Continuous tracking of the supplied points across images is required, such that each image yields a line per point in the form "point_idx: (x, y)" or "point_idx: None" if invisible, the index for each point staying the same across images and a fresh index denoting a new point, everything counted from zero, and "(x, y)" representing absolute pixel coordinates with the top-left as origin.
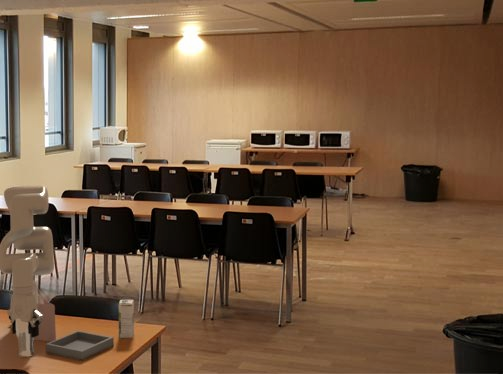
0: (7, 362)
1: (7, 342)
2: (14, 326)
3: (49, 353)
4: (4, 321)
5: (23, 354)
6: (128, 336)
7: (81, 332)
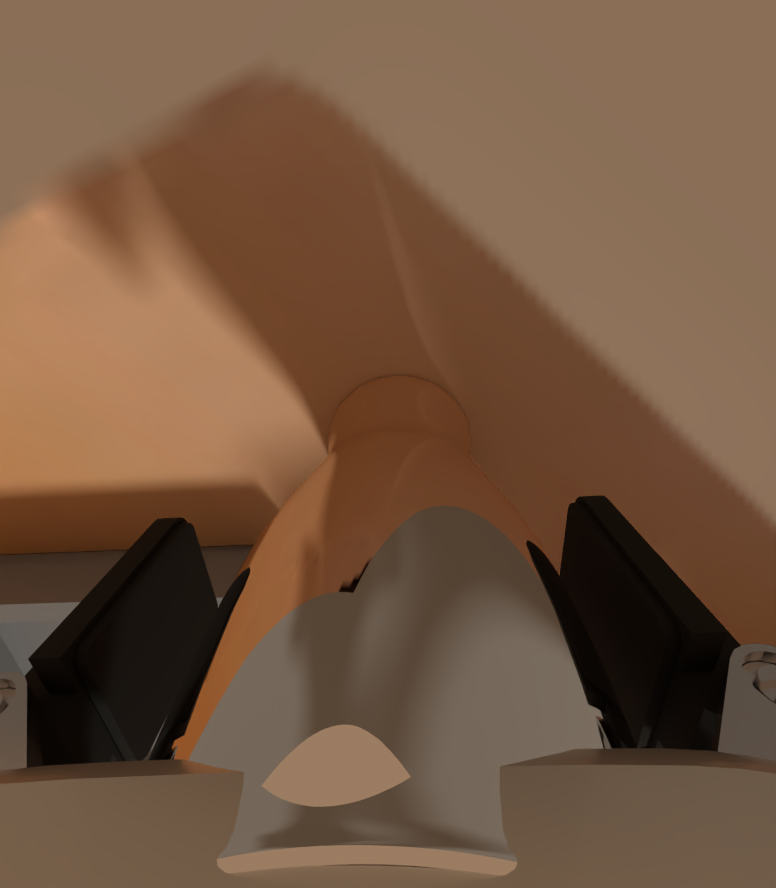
0: (396, 206)
1: (771, 556)
2: (630, 602)
3: None
4: None
5: (363, 393)
6: None
7: None
